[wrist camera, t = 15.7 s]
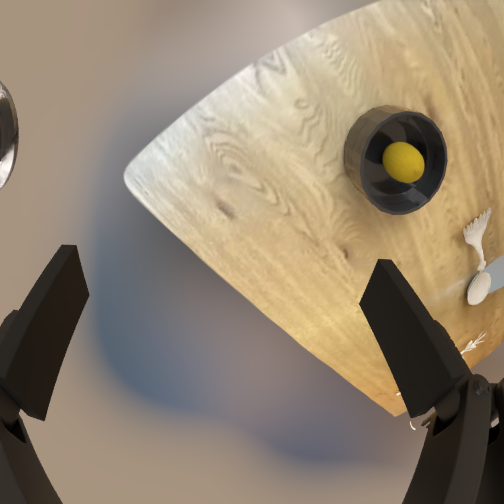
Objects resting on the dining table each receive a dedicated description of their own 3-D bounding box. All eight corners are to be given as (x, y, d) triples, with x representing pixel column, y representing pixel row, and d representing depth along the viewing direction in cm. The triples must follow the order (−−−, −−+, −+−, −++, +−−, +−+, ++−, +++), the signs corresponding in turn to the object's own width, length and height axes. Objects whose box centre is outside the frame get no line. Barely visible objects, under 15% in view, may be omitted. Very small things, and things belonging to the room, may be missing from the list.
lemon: (370, 169, 39) (397, 189, 32) (376, 133, 36) (406, 148, 29) (400, 172, 40) (428, 193, 33) (406, 139, 37) (438, 154, 30)
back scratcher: (482, 200, 44) (493, 207, 41) (487, 287, 60) (493, 295, 57) (454, 222, 47) (465, 230, 44) (465, 305, 62) (471, 313, 60)
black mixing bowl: (323, 139, 37) (339, 150, 32) (401, 88, 32) (425, 92, 28) (369, 214, 44) (386, 233, 39) (435, 166, 40) (457, 179, 35)
